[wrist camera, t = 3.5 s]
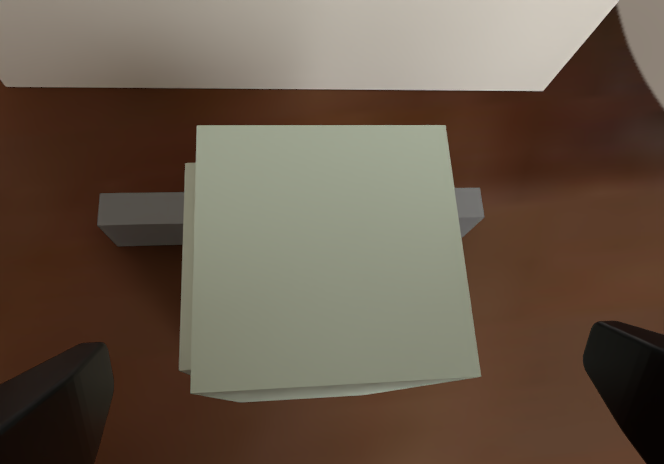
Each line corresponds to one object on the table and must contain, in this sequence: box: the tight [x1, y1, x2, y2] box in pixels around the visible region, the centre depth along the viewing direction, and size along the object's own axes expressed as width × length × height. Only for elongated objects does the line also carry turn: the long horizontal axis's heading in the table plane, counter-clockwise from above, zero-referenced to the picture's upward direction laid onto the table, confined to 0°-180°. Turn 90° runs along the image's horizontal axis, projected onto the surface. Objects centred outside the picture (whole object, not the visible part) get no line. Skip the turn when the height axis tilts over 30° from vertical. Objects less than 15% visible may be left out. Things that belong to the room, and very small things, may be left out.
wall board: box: [0, 0, 619, 246], centre depth 18 cm, size 9×24×10 cm, turn 93°
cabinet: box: [179, 125, 481, 402], centre depth 15 cm, size 5×5×12 cm
